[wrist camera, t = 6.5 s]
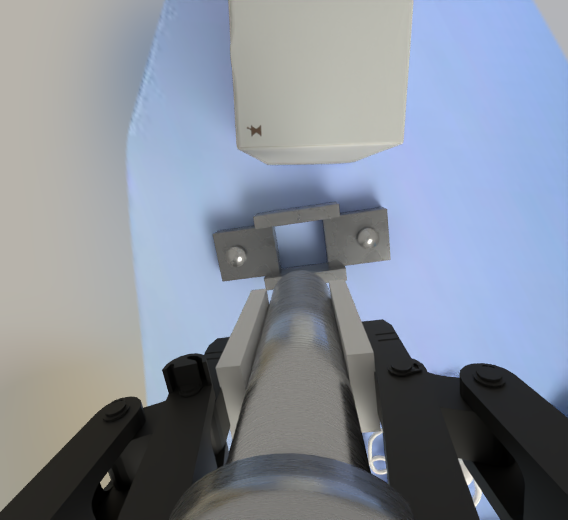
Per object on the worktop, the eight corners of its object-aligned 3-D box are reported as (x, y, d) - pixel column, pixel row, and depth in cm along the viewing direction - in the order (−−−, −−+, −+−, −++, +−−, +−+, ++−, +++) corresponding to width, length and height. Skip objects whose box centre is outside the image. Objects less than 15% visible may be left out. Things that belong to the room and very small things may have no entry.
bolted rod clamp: (229, 285, 34) (222, 295, 31) (215, 219, 32) (206, 223, 29) (385, 265, 32) (394, 274, 29) (380, 194, 31) (388, 196, 28)
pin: (267, 339, 18) (172, 755, 5) (252, 263, 17) (84, 549, 4) (347, 331, 17) (470, 765, 5) (338, 252, 16) (470, 533, 3)
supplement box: (357, 164, 30) (407, 150, 16) (265, 166, 31) (232, 154, 16) (361, 58, 28) (425, -73, 13) (262, 62, 28) (220, -60, 14)
